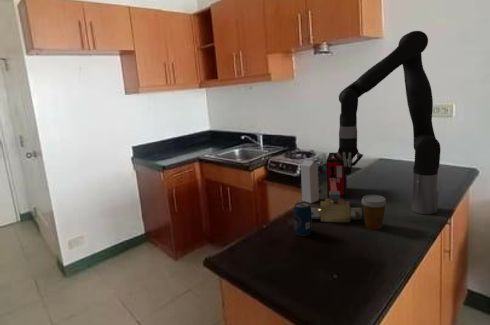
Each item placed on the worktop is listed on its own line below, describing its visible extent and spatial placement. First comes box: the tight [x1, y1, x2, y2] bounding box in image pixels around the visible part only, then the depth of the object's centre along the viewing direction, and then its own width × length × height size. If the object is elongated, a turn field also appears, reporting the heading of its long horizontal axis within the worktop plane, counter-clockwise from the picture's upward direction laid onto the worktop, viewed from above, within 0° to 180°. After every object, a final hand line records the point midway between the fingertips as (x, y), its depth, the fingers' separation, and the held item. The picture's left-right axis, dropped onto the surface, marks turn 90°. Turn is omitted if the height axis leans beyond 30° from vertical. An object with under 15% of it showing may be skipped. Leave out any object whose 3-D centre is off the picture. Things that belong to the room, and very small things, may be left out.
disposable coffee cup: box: [360, 194, 388, 231], centre depth 134 cm, size 10×10×12 cm
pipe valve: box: [311, 198, 363, 223], centre depth 145 cm, size 25×7×9 cm, turn 78°
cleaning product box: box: [326, 152, 348, 199], centre depth 175 cm, size 16×9×20 cm, turn 161°
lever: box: [328, 181, 341, 199], centre depth 150 cm, size 18×4×3 cm, turn 168°
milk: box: [300, 157, 320, 204], centre depth 167 cm, size 6×6×22 cm
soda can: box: [293, 201, 313, 237], centre depth 134 cm, size 7×7×12 cm
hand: (347, 174), depth 149 cm, fingers closed
